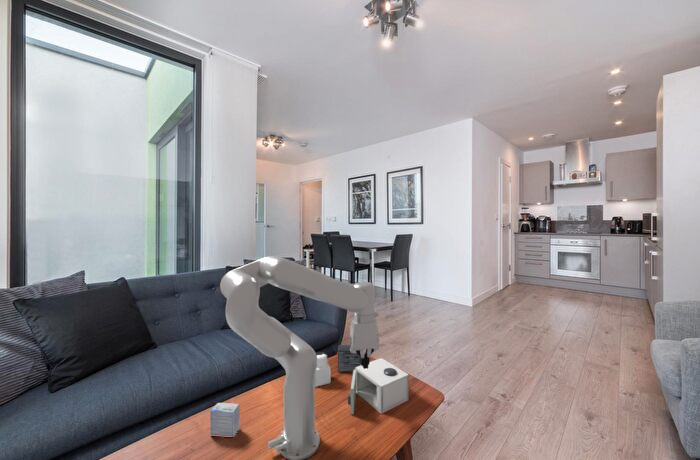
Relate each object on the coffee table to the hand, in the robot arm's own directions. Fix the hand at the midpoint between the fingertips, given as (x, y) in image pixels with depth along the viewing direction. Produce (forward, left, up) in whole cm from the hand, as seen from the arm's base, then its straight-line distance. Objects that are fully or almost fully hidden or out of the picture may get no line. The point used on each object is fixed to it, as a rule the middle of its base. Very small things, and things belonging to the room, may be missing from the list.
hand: (365, 366), depth 101 cm
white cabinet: (+11, +4, -17) cm, 20 cm away
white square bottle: (-4, +27, -17) cm, 32 cm away
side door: (-1, +6, -16) cm, 17 cm away
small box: (+12, +28, -17) cm, 35 cm away
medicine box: (-44, +18, -17) cm, 50 cm away
